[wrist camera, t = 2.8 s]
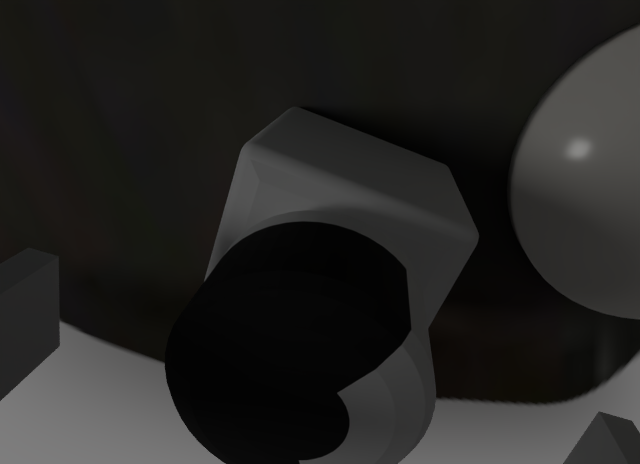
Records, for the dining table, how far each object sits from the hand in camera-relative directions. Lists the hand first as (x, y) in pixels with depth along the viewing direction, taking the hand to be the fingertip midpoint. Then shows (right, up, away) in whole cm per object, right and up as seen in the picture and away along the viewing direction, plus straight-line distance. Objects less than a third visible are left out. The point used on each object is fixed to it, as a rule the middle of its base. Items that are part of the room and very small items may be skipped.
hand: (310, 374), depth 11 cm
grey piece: (+1, +5, +9) cm, 11 cm away
